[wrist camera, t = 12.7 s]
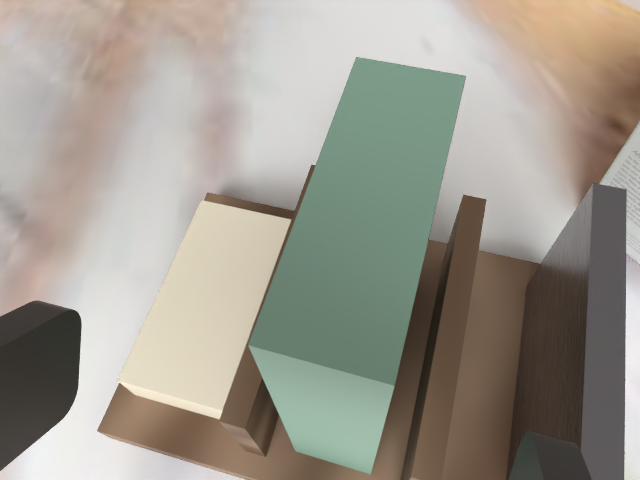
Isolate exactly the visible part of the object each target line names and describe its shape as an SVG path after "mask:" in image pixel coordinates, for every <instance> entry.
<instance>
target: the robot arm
mask: <svg viewBox="0 0 640 480" xmlns="http://www.w3.org/2000/svg"><path fill="white" fill-rule="evenodd" d="M80 343H81V318H80V315H79V313H78V312H77V311H75V310H72V309H68V308H64V307H61V306H57V305H53V304H49V303H46V302H42V301H32V302H30V303H28V304H26V305H24V306H22V307H19V308H17V309H15V310H13V311H11V312H9V313H7V314H5V315H3V316H1V317H0V471H1V470H2V469H3V468H4V467H6V466H7V465H8V464H9V463H10V462H12V461H13V460H14V459H15V458H16V457H18V456H19V455H20V454H21V453H22V452H24V451H25V450H26V449H27V448H28V447H30V446H31V445H32V444H33V443H34V442H36V441H37V440H38V439H39V438H40V437H42V436H43V435H44V434H45V433H46V432H48V431H49V430H50V429H51V428H52V427H54V426H55V425H56V424H57V423H59V422H60V421H61V420H62V419H63V418H64V417H65V416H66V414H67V413H68V411H69V410H70V408H71V406H72V404H73V402H74V400H75V397H76V394H77V390H78V379H79V361H80ZM509 480H592V479H591V476H590V473H589V471H588V468H587V466H586V463H585V461H584V458H583V456H582V453H581V451H580V448H579V446H578V445H577V444H575V443H572V442H568V441H564V440H560V439H556V438H553V437H549V436H545V435H541V434H537V433H534V432H530V431H527V432H526V433H525V434H524V436H523V437H522V440H521V442H520V445H519V448H518V451H517V455H516V458H515V461H514V464H513V467H512V471H511V474H510V477H509Z"/></svg>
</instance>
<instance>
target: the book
mask: <svg viewBox="0 0 640 480" xmlns="http://www.w3.org/2000/svg"><path fill="white" fill-rule="evenodd" d="M465 79H466V76H463V75H458V74H452V73H446V72H440V71H434V70H429V69H423V68H417V67H411V66H405V65H400V64H394V63H388V62H382V61H376V60H371V59H365V58H359V57H356V59H355V62H354V64H353V67H352V70H351V72H350V75H349V78H348V80H347V83H346V86H345V88H344V91H343V94H342V96H341V99H340V102H339V104H338V107H337V110H336V112H335V115H334V118H333V120H332V123H331V126H330V128H329V131H328V134H327V136H326V139H325V142H324V144H323V147H322V150H321V152H320V155H319V158H318V160H317V163H316V166H315V168H314V171H313V174H312V176H311V179H310V182H309V184H308V187H307V190H306V192H305V195H304V198H303V200H302V203H301V206H300V208H299V211H298V214H297V216H296V219H295V222H294V224H293V227H292V230H291V232H290V235H289V238H288V240H287V243H286V246H285V248H284V251H283V254H282V256H281V259H280V262H279V264H278V267H277V270H276V272H275V275H274V278H273V280H272V283H271V286H270V288H269V291H268V293H267V296H266V299H265V301H264V304H263V307H262V309H261V312H260V315H259V317H258V320H257V323H256V325H255V328H254V331H253V333H252V336H251V339H250V341H249V344H248V346H249V348H250V351H251V353H252V355H253V357H254V360H255V362H256V364H257V366H258V369H259V371H260V373H261V375H262V378H263V380H264V382H265V384H266V387H267V389H268V391H269V393H270V395H271V398H272V400H273V402H274V404H275V407H276V409H277V411H278V413H279V416H280V418H281V420H282V422H283V425H284V427H285V429H286V431H287V434H288V436H289V438H290V440H291V443H292V445H293V447H294V449H295V451H296V452H299V453H302V454H306V455H309V456H312V457H315V458H319V459H322V460H325V461H328V462H332V463H335V464H338V465H341V466H345V467H348V468H351V469H354V470H357V471H361V472H364V473H367V474H370V475H371V472H372V469H373V465H374V461H375V457H376V454H377V450H378V446H379V442H380V439H381V435H382V431H383V427H384V424H385V420H386V416H387V412H388V409H389V405H390V401H391V397H392V394H393V390H394V386H395V382H396V378H397V373H398V369H399V365H400V360H401V356H402V352H403V347H404V343H405V339H406V334H407V330H408V326H409V321H410V317H411V313H412V308H413V304H414V300H415V295H416V291H417V287H418V282H419V278H420V274H421V269H422V265H423V261H424V256H425V252H426V248H427V243H428V239H429V235H430V230H431V226H432V222H433V217H434V213H435V209H436V204H437V200H438V196H439V191H440V187H441V183H442V178H443V174H444V170H445V165H446V161H447V157H448V152H449V148H450V144H451V139H452V135H453V131H454V126H455V122H456V118H457V113H458V109H459V105H460V100H461V96H462V92H463V87H464V83H465Z"/></svg>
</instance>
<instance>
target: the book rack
mask: <svg viewBox="0 0 640 480" xmlns="http://www.w3.org/2000/svg"><path fill="white" fill-rule="evenodd" d="M315 166H316V165H311V168H310V170H309V173H308V176H307V179H306V182H305V184H304V187H303V190H302V193H301V195H300V198H299V201H298V204H297V206H296V209H295V211H291V210H287V209H282V208H277V207H273V206H268V205H263V204H259V203H254V202H249V201H245V200H240V199H235V198H231V197H226V196H221V195H217V194H212V193H207V195H206V197H205V199H204V201H208V202H213V203H217V204H222V205H227V206H231V207H236V208H240V209H245V210H250V211H254V212H259V213H263V214H268V215H272V216H277V217H282V218H286V219H291V223H290V226H289V229H288V231H287V234H286V237H285V240H284V242H283V245H282V248H281V251H280V254H279V256H278V259H277V262H276V265H275V267H274V270H273V273H272V276H271V279H270V281H269V284H268V287H267V290H266V292H265V295H264V298H263V301H262V303H261V306H260V309H259V312H258V315H257V317H256V320H255V323H254V326H253V328H252V331H251V334H250V337H249V339H248V342H247V345H246V348H245V351H244V353H243V356H242V359H241V362H240V364H239V367H238V370H237V373H236V375H235V378H234V381H233V384H232V387H231V389H230V392H229V395H228V398H227V400H226V403H225V406H224V409H223V411H222V414H221V417H220V419H216V418H213V417H209V416H206V415H202V414H199V413H195V412H192V411H189V410H185V409H182V408H178V407H175V406H171V405H168V404H164V403H161V402H157V401H154V400H151V399H147V398H144V397H140V396H137V395H134V394H133V393H132V392H131V391H129V390H128V389H127V388H126V387H124V386H123V385H122V384H121V383H119V385H118V387H117V389H116V391H115V394H114V396H113V398H112V400H111V402H110V404H109V406H108V409H107V411H106V413H105V415H104V417H103V419H102V422H101V424H100V426H99V428H98V430H97V431H98V432H100V433H102V434H104V435H106V436H107V437H110V438H113V439H116V440H119V441H123V442H126V443H129V444H132V445H136V446H139V447H142V448H145V449H149V450H152V451H155V452H158V453H162V454H165V455H168V456H172V457H175V458H178V459H181V460H185V461H188V462H191V463H194V464H198V465H201V466H204V467H207V468H211V469H214V470H217V471H220V472H224V473H227V474H230V475H233V476H237V477H240V478H243V479H247V480H506V474H507V465H508V455H509V446H510V436H511V427H512V418H513V408H514V399H515V390H516V380H517V371H518V361H519V352H520V343H521V333H522V324H523V314H524V305H525V296H526V286H527V285H528V283H529V282H530V280H531V279H532V277H533V275H534V274H535V272H536V271H537V269H538V268H539V266H540V265H541V264H538V263H533V262H529V261H524V260H519V259H515V258H510V257H505V256H501V255H496V254H491V253H487V252H482V251H478V248H479V242H480V236H481V230H482V223H483V217H484V211H485V205H486V199H482V198H477V197H472V196H466V195H463V198H462V201H461V204H460V207H459V210H458V214H457V217H456V220H455V223H454V226H453V230H452V233H451V236H450V239H449V242H448V244H445V243H440V242H436V241H431V240H428V243H427V248H426V252H425V256H424V261H423V265H422V269H421V274H420V278H419V282H418V287H417V291H416V295H415V300H414V304H413V308H412V313H411V317H410V321H409V326H408V330H407V334H406V339H405V343H404V347H403V352H402V356H401V360H400V365H399V369H398V373H397V378H396V382H395V386H394V390H393V394H392V397H391V401H390V405H389V409H388V412H387V416H386V420H385V424H384V427H383V431H382V435H381V439H380V442H379V446H378V450H377V454H376V457H375V461H374V465H373V469H372V472H371V475H370V474H367V473H364V472H361V471H357V470H354V469H351V468H348V467H345V466H341V465H338V464H335V463H332V462H328V461H325V460H322V459H319V458H315V457H312V456H309V455H306V454H302V453H299V452H296V451H295V449H294V447H293V445H292V443H291V440H290V438H289V436H288V434H287V431H286V429H285V427H284V425H283V422H282V420H281V418H280V416H279V413H278V411H277V409H276V407H275V404H274V402H273V400H272V398H271V395H270V393H269V391H268V389H267V387H266V384H265V382H264V380H263V378H262V375H261V373H260V371H259V369H258V366H257V364H256V362H255V360H254V357H253V355H252V353H251V351H250V348H249V346H248V344H249V341H250V339H251V336H252V333H253V331H254V328H255V325H256V323H257V320H258V317H259V315H260V312H261V309H262V307H263V304H264V301H265V299H266V296H267V293H268V291H269V288H270V286H271V283H272V280H273V278H274V275H275V272H276V270H277V267H278V264H279V262H280V259H281V256H282V254H283V251H284V248H285V246H286V243H287V240H288V238H289V235H290V232H291V230H292V227H293V224H294V222H295V219H296V216H297V214H298V211H299V208H300V206H301V203H302V200H303V198H304V195H305V192H306V190H307V187H308V184H309V182H310V179H311V176H312V174H313V171H314V168H315Z"/></svg>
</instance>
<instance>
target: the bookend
mask: <svg viewBox="0 0 640 480" xmlns="http://www.w3.org/2000/svg"><path fill="white" fill-rule="evenodd" d="M626 207H627V189H623V188H617V187H612V186H607V185H601V184H596V183H593V184H592V185H591V187H590V189H589V190H588V192H587V193H586V195H585V196H584V198H583V199H582V201H581V203H580V204H579V206H578V207H577V209H576V210H575V212H574V213H573V215H572V216H571V218H570V220H569V221H568V223H567V224H566V226H565V227H564V229H563V230H562V232H561V234H560V235H559V237H558V238H557V240H556V241H555V243H554V244H553V246H552V248H551V249H550V251H549V252H548V254H547V255H546V257H545V258H544V260H543V262H542V263H541V265H540V266H539V268H538V269H537V271H536V272H535V274H534V275H533V277H532V279H531V280H530V282H529V283H528V285H527V286H526V296H525V305H524V314H523V324H522V333H521V343H520V352H519V361H518V371H517V380H516V390H515V399H514V408H513V418H512V427H511V436H510V446H509V455H508V465H507V474H506V480H509V477H510V474H511V471H512V467H513V464H514V461H515V458H516V455H517V451H518V448H519V445H520V442H521V440H522V437H523V436H524V434H525V433H526V432H527V431H530V432H534V433H537V434H541V435H545V436H549V437H553V438H556V439H560V440H564V441H568V442H572V443H575V444H577V445H578V446H579V448H580V451H581V453H582V456H583V458H584V461H585V463H586V466H587V468H588V471H589V473H590V476H591V479H592V480H624V433H625V320H626Z"/></svg>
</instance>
